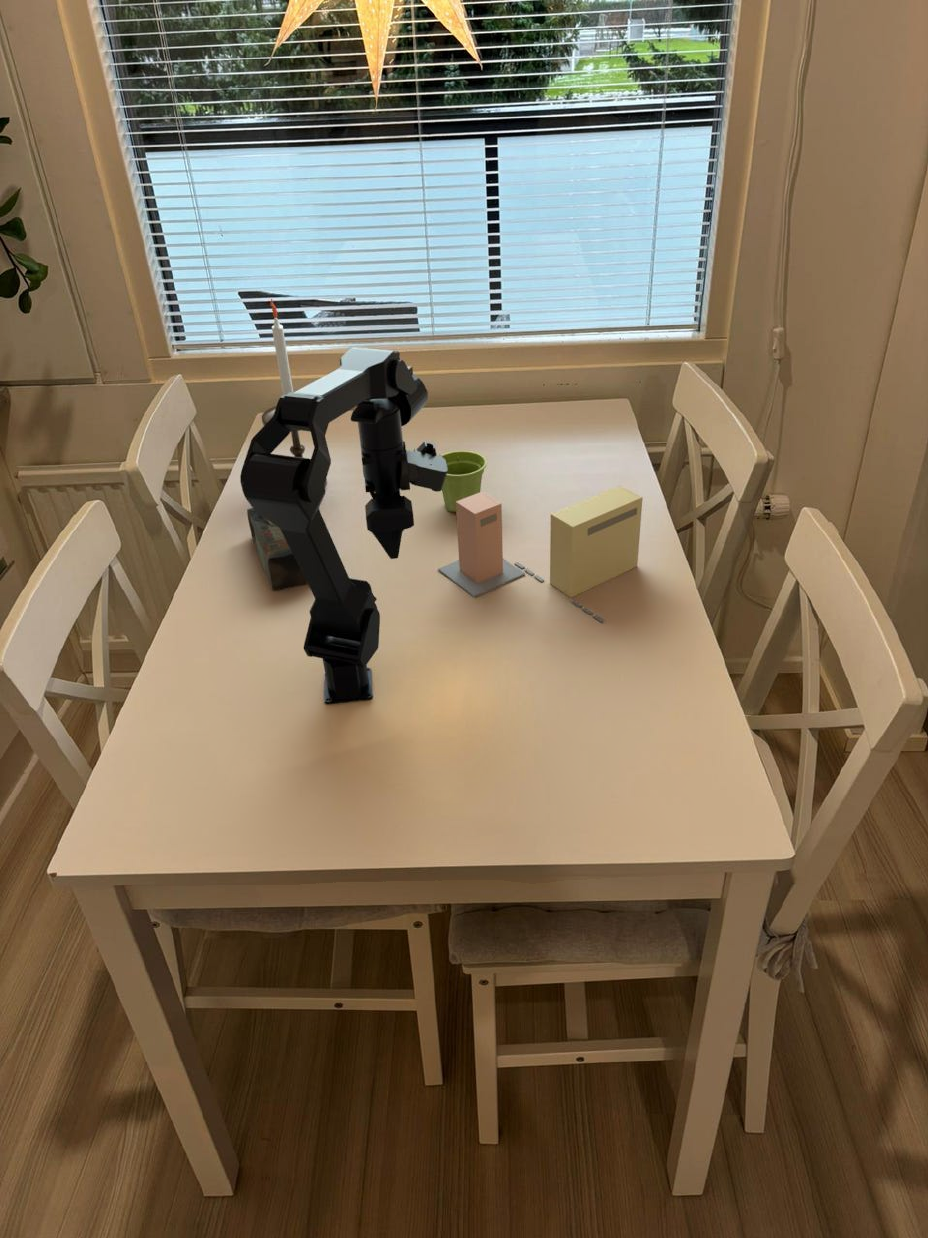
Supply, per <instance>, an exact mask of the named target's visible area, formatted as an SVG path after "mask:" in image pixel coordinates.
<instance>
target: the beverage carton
mask: <svg viewBox="0 0 928 1238" xmlns="http://www.w3.org/2000/svg"><path fill="white" fill-rule="evenodd" d="M246 511H247V512H246V513H247V521H248V524H249V525H248V526H249V530H250V535H251V538H252V541H253V543H254V545H255V549H256V551H257V554H258V556H259V559H260V563H261V564H262V567H263V570H264V573H265V575H266V578H267V580H268V583H269V585H270V587H271V590H272V591H273V592H274V591H279V590H283V589H287V588H293V587H299V586H302V585H306V584H307V585H308V583H307V581H306V579H305V577H304V575H303V573H302V571H301V569H300V567H299V565H298V563H297V561H296V559H295V557H294V555H293V553H292V551H291V549H290V547H289V545H288V543H287V541H286V539H285V537H284V535H283V533H282V531H281V530H280V528H279V527H278V526H276V525H275V524H273V523H272V522H270V521H269V520H267V519H266V518H264V517H262V516H261V515H259V514H258V513H257V512H256V511H255V510H254V508H253V507H251V508H248V509H246Z"/></svg>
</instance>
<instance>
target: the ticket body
mask: <svg viewBox="0 0 928 1238" xmlns="http://www.w3.org/2000/svg"><path fill="white" fill-rule="evenodd" d="M642 508H643V496H641V495H639V494H638V493H635V492H633V491H632V490H629V488H626V487H624V486H622V485H618V486H614V487H613V488H610V489H608V490H606V491H603V492H601V493H598V494H596V495H594V496H591V497H589V498H586V499H584V500H581V501H579V502H576V503H574V504H572V505H570V506H567V507H565V508H562V509H560V510H558V511H557V510H556V511H554V512H553V513H550V532H549V533H550V534H549V535H550V536H549V537H550V541H549V544H550V546H549V547H550V550H549V555H550V556H549V557H550V558H549V584H550V585H551V586H553V587H554V588H556V589H557V590H559V591H560V592H562V593H563V594H565V595H566V596H568V597H569V598H573V597H575V596H577V595H579V594H582V593H584V592H586V591H587V590H590V589H592V588H594V587H596V586H599V585H601V584H602V583H605V582H607V581H609V580H612V579H613V578H616V577H618V576H620V575H622V574H624V573H626V572H628V571H630V570H632V569H634V568H637V567H638V561H639V552H640V551H639V549H640V534H641V521H642V511H643V509H642Z"/></svg>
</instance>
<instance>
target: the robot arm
mask: <svg viewBox="0 0 928 1238" xmlns="http://www.w3.org/2000/svg"><path fill="white" fill-rule="evenodd" d="M400 356H401V353H400V352H399V351H398V350H393V349H384V348H371V347H360V346H353V347H351V348H349V349H348V350H347V352H345V353H344V354H343V355H342V356H341V357H340V359H339V367H338V368H337V369H335V370H333V371H332V372H330V373H328V374H325V375H324V376H322V377H320V378H319V379H317V380H315V381H313V382H310V383H308V384H307V385H305V386H303V387H301V388H299V389H298V390H296V391H293V393H288V394H285V395H283V394H282V395H281V396H280V397H279V399H278V401H277V404H276V405H275V406H276V409H275V412H274V415H273V417H272V418H271V419H270V420H269V421H268V422H267V423H266V424H265V425H264V426H263V427H262V428H260V429H259V430H258V432H256V434H255V435H254V436H253V437H252V439H251V440H250V444H249V446H248V450H247V452H246V455H245V458H244V461H243V465H242V468H241V471H240V476H239V479H240V480H239V482H240V486H241V490H242V493H243V496H244V498H245V499H246V501H247V502H248V503H249V505H250V506H251V508H254V510H255V511H256V512H257V513H258V514H259V515H261V516H262V517H264V518H266V519H267V520H269V521H270V522H272V523H273V524H275V525H276V526H278V527H279V528H280V530H281V531H282V533H283V535H284V537H285V539H286V541H287V543H288V545H289V547H290V549H291V551H292V553H293V555H294V557H295V559H296V561H297V563H298V565H299V567H300V569H301V571H302V573H303V575H304V577H305V579H306V581H307V583H308V584H307V585H308V587H309V588H310V591H311V593H312V595H313V597H314V601H313V603H312V605H311V608H310V609H309V615H310V620H309V623H308V627H307V632H306V636H305V640H304V644H303V651H304V652H305V654H306V656H307V657H310V658H311V657H314V658H319V659H322V664H323V669H324V687H323V688H324V690H323V691H324V695H323V696H324V698H323V699H324V700H323V701H324V704H326V705H334V704H342V703H343V704H344V703H352V702H361V701H362V702H363V701H370V700H372V699H373V698H374V692H373V691H374V690H373V674H372V673H373V672H372V668H371V667H368V666H367V665H368V663H369V662H370V661H371V659H372V658H373V657H374V655H375V653H376V652H377V650H378V649H379V646H380V645H379V644H380V643H379V641H380V626H381V625H380V623H381V615H380V611H379V609H378V606H377V603H376V601H377V600H378V598H377V597H376V596H375V595H374V592H373V590H372V587H371V584H370V583H369V582H368V581H367V580H362V579H358V578H357V579H356V578H351V577H349V575H348V572H347V569H345V566H344V563H343V561H342V559H341V557H340V554H339V551H338V550H337V547H336V545H335V543H334V540H333V538H332V536H331V533H330V531H329V529H328V527H327V524H326V523H325V519H324V518H323V514H322V513H321V511H320V506H321V504H322V502H323V500H324V497H325V494H326V487H324V484H325V481H326V479H327V477H328V474H329V471H330V468H331V464H332V459H331V455H330V451H329V446H328V443H327V440H326V434H327V431H328V427H329V423H331V422H333V421H334V420H336V419H338V418H340V417H341V416H343V415H344V414H345V413H348V412H349V411H350V410H352V409H353V408H354V410H353V411H352V412H351V416H350V421H351V422H353V423H357V427H358V435H359V441H360V442H359V443H360V453H361V465H362V473H363V478H364V488H365V493H369V494H370V496H371V499H370V500H368V502H367V503H366V504H365V505H364V506H365V507H364V508H365V521H366V528H367V529H366V530H367V531H369V532H370V533H372V534H373V536H374V537H375V539H376V540H377V541H378V542H379V544H380V546H381V547H382V549H383V550H384V551H385V553H386V555H387V556H388V557H389V559H390V560H395V559H398V558H399V555H400V548H401V543H402V536H403V532H404V531H405V530H407V529H408V530H409V529H411V528H412V527H414V526H415V521H414V520H415V519H414V510H413V505H412V500H410V499H409V498H408V497H406V496H405V495H401V491H411V485H413V486H415V487H421V488H424V489H430V490H431V491H433V492H438V493H439V492H442V487H443V484H444V481H445V478H446V475H447V472H448V469H447V464H446V460H445V459H444V458H442V455H443V454H440V453H439V454H438V455H437V450H436V445H435V443H434V442H433V441H432V442H431V441H426V440H424V441H423V442H422V443H421V444H420V445H419V446H418V447H417V448H413V449H414V450H408V449H407V448H406V442H405V441H404V440H403V428H402V427H403V426H406V425H407V424H408V423H409V422H410V421H412V420H413V418H414V417H415V416H416V415H417V414H418V413H419V412H420V411H421V410H422V409H423V408H424V406H426V403H427V402H428V399H429V398H428V397H429V393H428V389H427V388H426V385H425V384H424V382H423V381H422V379H420V377H418V376H417V375H415V374H414V373H413V371H414V370H413V369H414V368H413V366H410V365H409V366H408V365H407V364H406V362H405V361H404V360H403V359H400V358H401V357H400ZM291 429H293V430H300V431H302V432H304V431H305V432H310V435H311V440H312V444H313V447H314V448H313V451H312V454H311V457H310V458H307V457H303V458H301V457H294V455H293V456H292V455H284V454H283V455H282V454H277V453H276V454H275V453H273V452H274V451H275V450H276V449H277V448H278V446H280V445H281V443H282V442H283V441H284V440H285V439H287V437H288V436H289V435H290V434H291Z"/></svg>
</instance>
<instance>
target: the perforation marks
mask: <svg viewBox="0 0 928 1238" xmlns="http://www.w3.org/2000/svg"><path fill="white" fill-rule="evenodd" d="M514 566H517V568H519V569H520V570H523V569H524V568H525V566H524V565H523V564H522V563H520V562H519V561H517V562H515V563H514ZM523 572H524V573H526V574H528V575H530V576H533V575H534V576H533V578H534V579H536V580H537V581H538V582H540V583H542V582H544V581H545V579H544V578H542V576H539V575H538V574H536V575H535V573H534V572H533V571H532V570H530V568H529V569H528V568H525V569H524V571H523ZM570 602H571V604H572V605H574V606H575V607H577V608H578V609H579V608H581V607H582V609H581V610H582V611H583V612H584V613H586V614H588V615H589V616H592V615H593V614H594V612H593V611H591V610H590V609H589V608H586V607H583V604H581V603H579V602H577V600H575V599H573V600H571V601H570ZM592 618H594V619H595V620H596V621H598V622H599V623H601V624H603V623H605V619H604V618H602V617H601V616H599V615H597V614H596V615H593V617H592Z"/></svg>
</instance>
